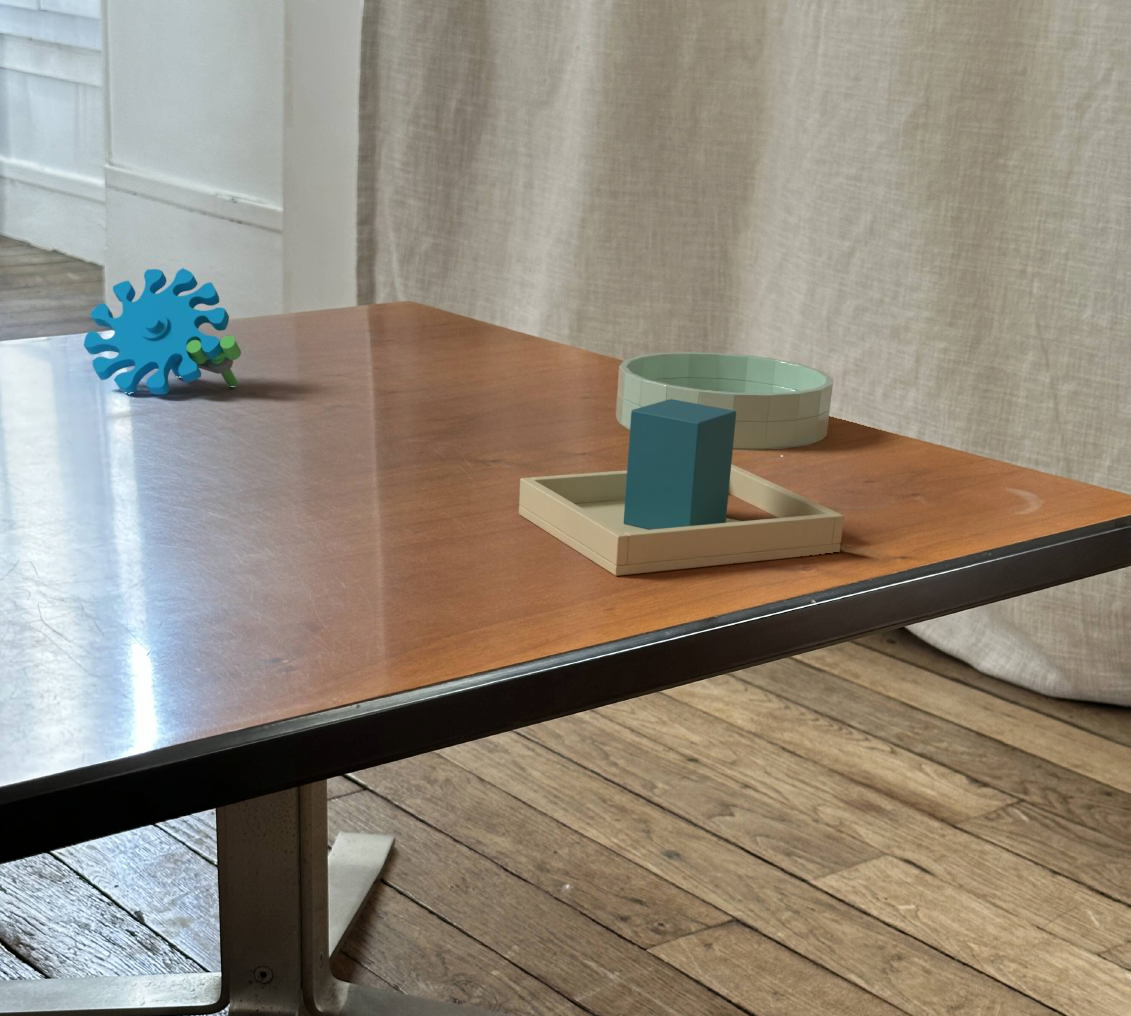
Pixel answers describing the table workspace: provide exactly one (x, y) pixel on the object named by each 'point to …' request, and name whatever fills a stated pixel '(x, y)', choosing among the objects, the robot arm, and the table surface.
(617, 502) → the tray
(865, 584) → the table surface
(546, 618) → the table surface
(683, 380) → the bowl
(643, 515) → the block
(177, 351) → the gear
